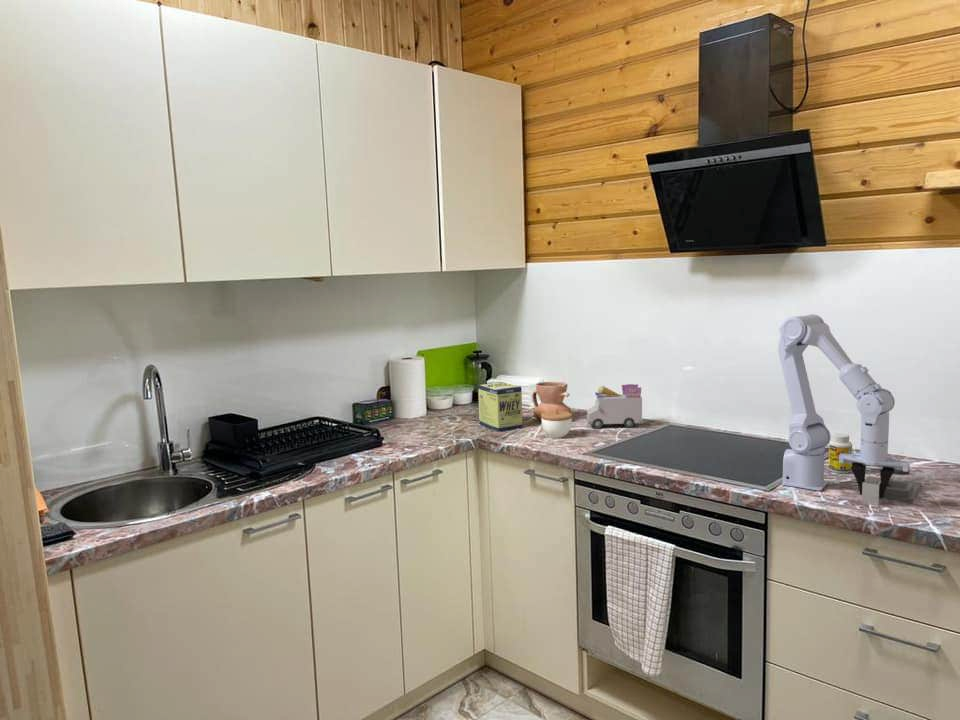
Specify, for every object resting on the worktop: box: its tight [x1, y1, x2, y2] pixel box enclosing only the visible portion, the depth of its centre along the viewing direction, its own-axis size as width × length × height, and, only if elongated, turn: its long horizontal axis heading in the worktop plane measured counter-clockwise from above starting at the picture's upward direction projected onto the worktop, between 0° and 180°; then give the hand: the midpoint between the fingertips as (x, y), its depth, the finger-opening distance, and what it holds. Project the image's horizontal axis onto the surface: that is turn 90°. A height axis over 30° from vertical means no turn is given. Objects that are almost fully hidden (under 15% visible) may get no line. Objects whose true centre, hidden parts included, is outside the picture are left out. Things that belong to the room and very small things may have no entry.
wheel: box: [892, 466, 911, 476], centre depth 175 cm, size 4×4×2 cm
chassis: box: [879, 477, 923, 504], centre depth 173 cm, size 9×15×2 cm, turn 141°
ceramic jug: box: [531, 381, 572, 421], centre depth 267 cm, size 18×14×14 cm
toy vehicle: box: [585, 383, 644, 430], centre depth 252 cm, size 9×20×15 cm, turn 88°
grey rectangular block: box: [861, 476, 883, 506], centre depth 167 cm, size 4×4×6 cm
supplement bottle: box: [828, 433, 853, 474], centre depth 190 cm, size 6×6×10 cm
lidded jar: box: [540, 409, 573, 439], centre depth 241 cm, size 11×11×9 cm
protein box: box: [477, 381, 523, 433], centre depth 258 cm, size 10×16×16 cm
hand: (872, 495), depth 167 cm, fingers closed on grey rectangular block, 3 cm apart
